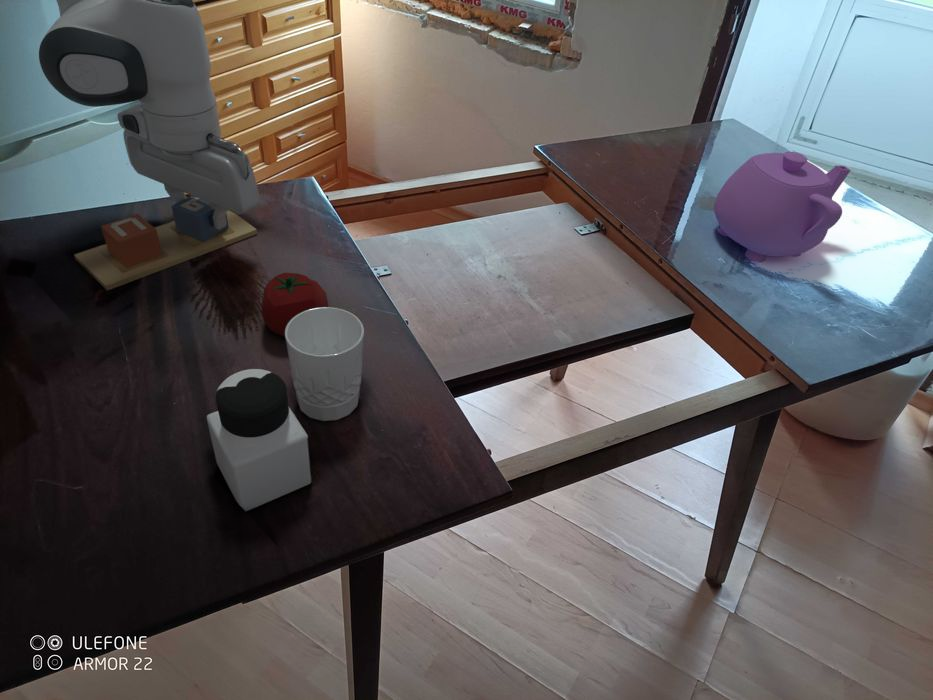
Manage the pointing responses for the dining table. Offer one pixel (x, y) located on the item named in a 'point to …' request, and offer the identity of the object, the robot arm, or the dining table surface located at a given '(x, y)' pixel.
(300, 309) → the tomato
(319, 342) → the white cup
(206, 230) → the tile
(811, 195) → the teapot
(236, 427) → the medicine bottle
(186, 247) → the word board
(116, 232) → the tile
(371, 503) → the dining table surface
